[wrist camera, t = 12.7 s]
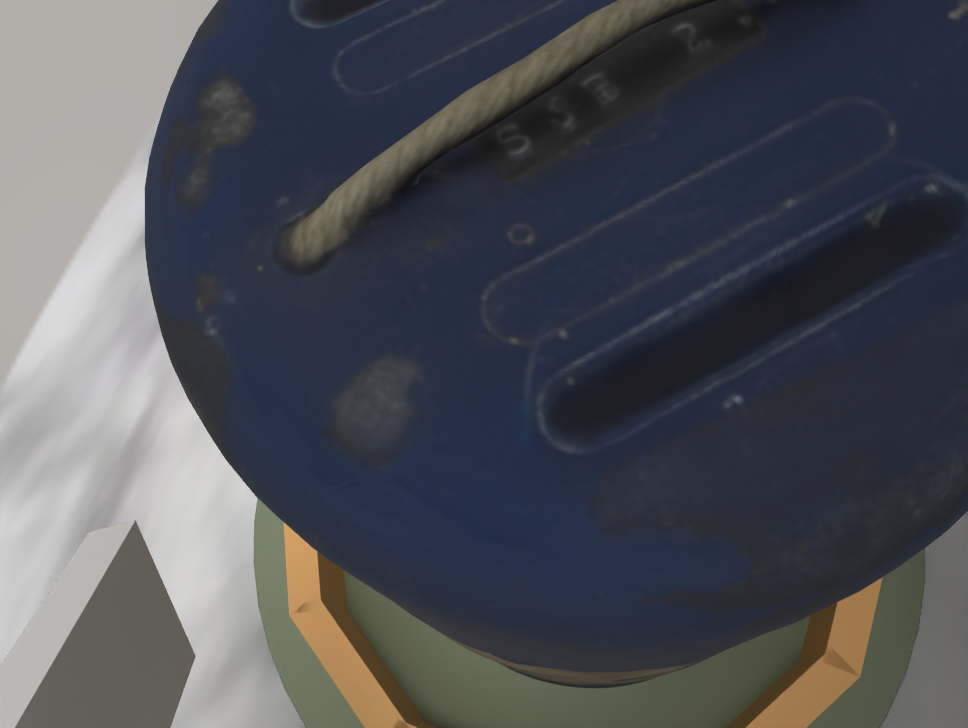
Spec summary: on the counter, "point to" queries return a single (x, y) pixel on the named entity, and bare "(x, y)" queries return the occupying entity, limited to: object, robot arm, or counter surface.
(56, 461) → the counter surface
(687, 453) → the canister
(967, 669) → the counter surface
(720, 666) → the green orange round dish
